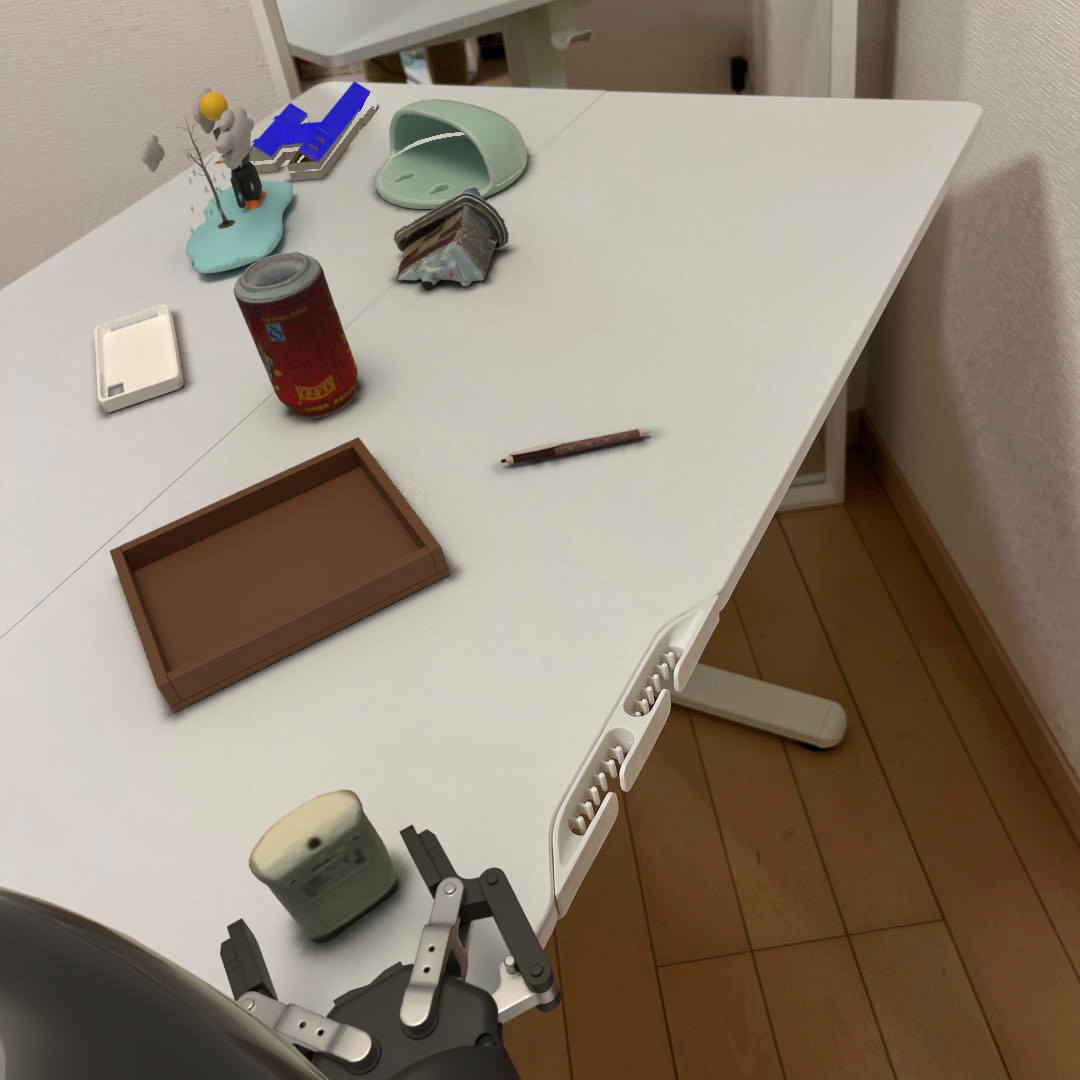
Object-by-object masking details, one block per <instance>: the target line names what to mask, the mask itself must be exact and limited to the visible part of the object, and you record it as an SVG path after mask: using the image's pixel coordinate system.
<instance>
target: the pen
mask: <svg viewBox="0 0 1080 1080" xmlns="http://www.w3.org/2000/svg"><path fill="white" fill-rule="evenodd" d="M652 431H653V430H652V429H651V430H649V429H648V428H647V429H646V428H640V429H638V428H636V429H632V430H626V431H620V432H616V433H615V432H614V433H610V434H605V435H600V436H595V437H590V438H584V439H579V440H574V441H569V442H562V441H560V442H552V443H547V444H542V445H541V444H540V445H536V446H532V447H527V448H523V449H520V450H515V451H513V452H512V451H511V452H509V453H508V456H506V457H505V458H501V460H500V463H502V464H505V463H506V464H510V465H512V464H520V463H525V462H531V461H534V460H535V461H536V460H541V459H546V458H551V457H556V456H561V455H567V454H570V453H575V452H580V451H584V450H590V449H594V448H597V447H598V448H599V447H603V446H608V445H612V444H617V443H622V442H627V441H630V440H635V439H640V438H642V437H644V436H647V435H649V434H650V433H651V432H652Z"/></svg>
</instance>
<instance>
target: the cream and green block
mask: <svg viewBox="0 0 1080 1080" xmlns="http://www.w3.org/2000/svg"><path fill="white" fill-rule="evenodd" d="M248 868H249V870H250V872H251V874H252V875H253V876H254V877H255V878H256V879H257V880H258V881H259V882H261V883H262V884H264V885H266V887H268V889H269V890H270V891H271V893H272V894H273V895H274V897H275V898H276V900H278V902H279V903H280V904H281V905H282V907H283V908H284V909H285V910H286V911H287V913H288V914H289V915H290V916H291V918H292V919H293V920H294V921H295V922H296V924H297V926H299V927H300V928H301V930H302V931H303V932H304V934H305V936H307V937H308V938H309V939H310V940H312V941H313V942H315V943H323V942H327V941H329V940H332V939H334V938H336V937H338V935H341V933H342V932H343V931H344V930H346V929H347V928H348V927H349V926H351V925H352V924H354V923H355V922H356V921H358V920H359V919H361V918H362V917H364V916H365V915H366V914H367V913H369V912H370V911H372V910H373V909H374V908H375V907H377V906H378V905H379V904H381V903H382V902H383V901H385V900H387V899H388V898H389V897H390V896H391V895H392V894H394V892H395V891H396V889H397V887H398V885H399V884H398V881H399V880H398V875H397V871H396V869H395V866H394V864H393V860H392V858H391V857H390V854H389V851H388V849H387V846H386V845H385V843H384V839H382V837H381V836H380V834H379V833H378V830H377V829H376V828H375V826H374V824H373V823H372V822H371V821H370V819H369V817H368V816H367V815H366V813H365V811H364V807H363V804H362V801H361V799H360V798H359V796H358V794H357V793H356V792H355V791H353V790H351V789H339V790H335V791H331V792H327V793H326V792H325V793H323V794H320V795H318V796H316V797H314V798H312V799H309V800H308V801H306V802H304V803H302V804H300V805H299V806H297V807H295V808H294V809H292V810H291V811H290V812H288V813H286V814H285V815H283V816H281V818H280V819H278V820H277V821H276V822H275V823H273V824H272V825H271V826H270V827H269V828H268V829H267V830H266V831H265V832H264V833H263V834H262V836H261V837H260V838H259V839H258V841H257V843H256V844H255V845H254V847H253V849H252V850H251V852H250V855H249V858H248Z"/></svg>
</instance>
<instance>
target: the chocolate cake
mask: <svg viewBox="0 0 1080 1080" xmlns="http://www.w3.org/2000/svg"><path fill="white" fill-rule="evenodd" d="M505 222H506V220H505V219H504V218H503V217H502V216H501V215H500V214H499V212H498V210H497V209H496V208H495V207H494V206H493V205H492V204H491V203H489V202H487V201H486V200H485V198H483V199H482V197H481V195H480V193H479V192H478V190H477V189H476V188H471V189H470V190H469V189H468V188H467V190H465V191H464V192H463V193H460V194H459V195H458V196H455V197H454V198H452V199H451V200H450V199H449V200H447V201H446V202H444V203H443V204H441V205H439V206H437V207H436V208H435V209H431V210H430V211H428V212H427V213H426V214H423V215H422V216H419V217H418V218H416V219H415V220H413V221H412V222H411V223H410V224H407V225H403V226H401V227H400V228H399V229H396V230H395V233H394V234H393V241H394V243H395V245H396V247H397V249H398V250H399V251H400V252H402V260H401V261H400V264H399V266H398V271H397V275H396V280H398V281H404V280H405V281H419V280H421V282H422V284H421V285H422V287H423V288H424V289H426V290H428V289H431V288H432V287H433V286H435V285H436V284H437V283H438V282H439V281H441V280H444V281H454V282H459V283H460V285H461V286H462V287H469V286H470V285H472V282H477V281H478V282H479V281H484V280H485V279H486V276H487V274H488V268H489V266H490V264H491V260H492V256H493V254H494V252H495V250H497V249H500V248H502V247H505V246H506V245H507V244H508V242H509V240H510V238H509V236H510V233H509V231H508V227H507V226H506V225H507V224H506V223H505Z"/></svg>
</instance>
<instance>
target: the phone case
mask: <svg viewBox="0 0 1080 1080" xmlns="http://www.w3.org/2000/svg"><path fill="white" fill-rule="evenodd" d="M152 312H156V314H157V315H155V316H152V317H149V318H145V319H143V320H139V321H137V322H134V323H130V324H128V325H124V326H122V327H119V328H116V329H113V330H112V329H111V327H110V326H112V325H115V324H119V323H121V322H124V321H128V320H130V319H133V318H136V317H140V316H142V315H146V314H148V313H152ZM93 333H94V335H93V336H94V349H95V350H94V352H95V372H96V393H97V400H98V402H99V403H100V406H101V407H102V409H103V410H104V413H112V412H115V411H118V410H120V409H124V408H127V407H130V406H133V405H136V404H138V403H141V402H144V401H147V400H150V399H153V398H157V397H159V396H162V395H165V394H167V393H171V392H173V391H177V390H179V389H181V388H182V387H183V386H184V384H185V383H184V381H185V380H184V375H183V369H182V364H181V357H180V351H179V345H178V340H177V333H176V328H175V322H174V317H173V315H172V313H171V311H170V308H169V306H168V305H167V304H165V303H162V304H159V305H156V306H153V307H150V308H147V309H144V310H141V311H138V312H135V313H132V314H129V315H125V316H122V317H118V318H117V319H113V320H110V321H106V322H104V323H101V324H98V325H97V326H96V327H95V328H94V332H93ZM121 385H123V392H121V393H118V394H114V395H112V396H110V391H109V389H111V388H114V387H117V386H121Z"/></svg>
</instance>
